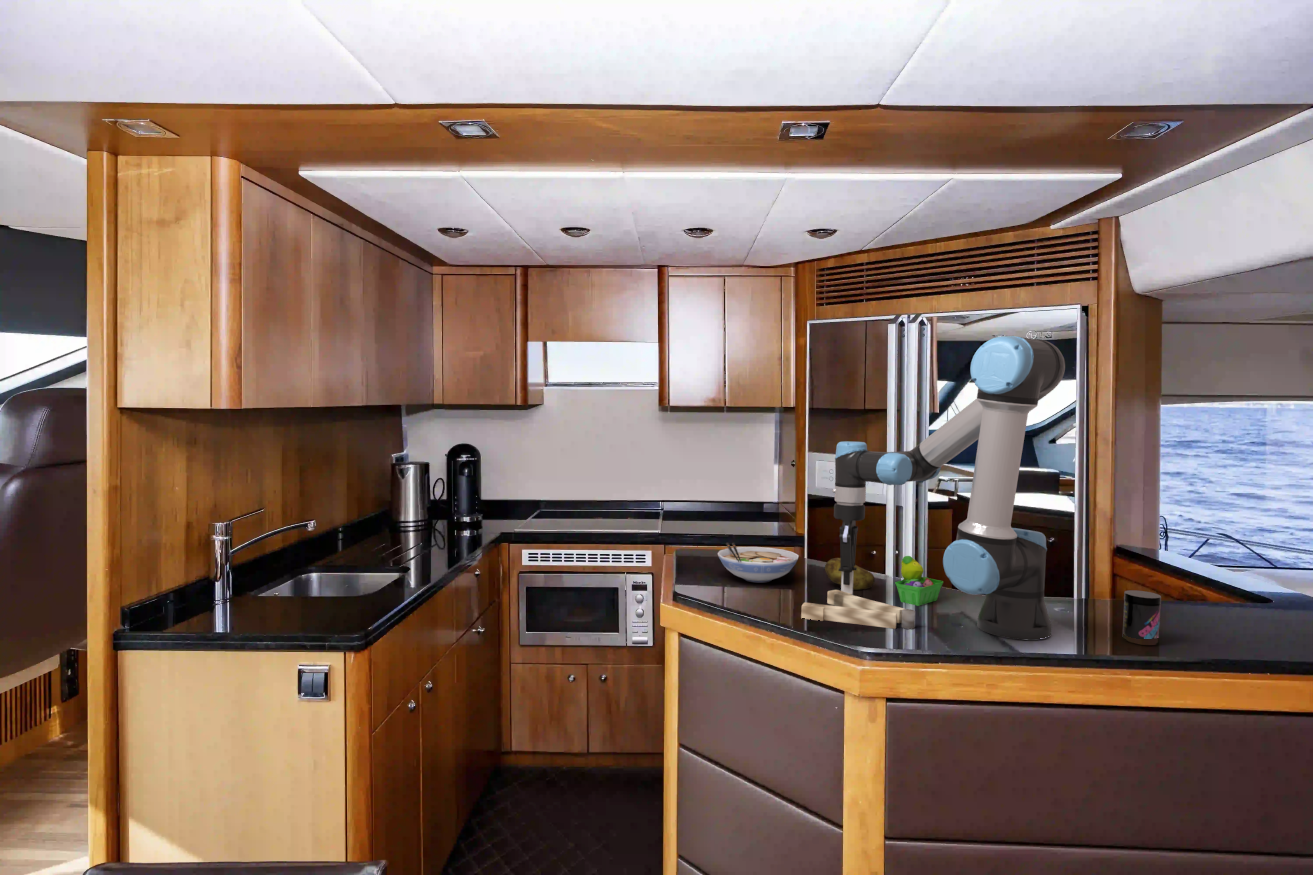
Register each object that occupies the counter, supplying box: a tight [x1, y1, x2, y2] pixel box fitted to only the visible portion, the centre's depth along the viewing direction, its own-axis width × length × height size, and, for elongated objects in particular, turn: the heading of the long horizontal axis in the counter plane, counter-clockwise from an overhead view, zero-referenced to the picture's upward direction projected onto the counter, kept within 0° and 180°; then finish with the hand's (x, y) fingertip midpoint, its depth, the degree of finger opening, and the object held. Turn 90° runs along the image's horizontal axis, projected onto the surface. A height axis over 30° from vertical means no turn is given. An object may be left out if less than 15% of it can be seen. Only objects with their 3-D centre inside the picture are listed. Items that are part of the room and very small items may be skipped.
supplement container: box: [1122, 589, 1162, 639], centre depth 169 cm, size 7×7×10 cm
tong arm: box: [826, 589, 905, 624], centre depth 188 cm, size 21×3×3 cm, turn 38°
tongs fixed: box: [800, 601, 916, 630], centre depth 180 cm, size 25×5×4 cm, turn 68°
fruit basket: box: [895, 555, 944, 607], centre depth 201 cm, size 11×9×11 cm
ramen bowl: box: [717, 542, 800, 584], centre depth 221 cm, size 25×23×8 cm
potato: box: [824, 557, 876, 591], centre depth 213 cm, size 8×13×8 cm, turn 64°
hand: (846, 596), depth 197 cm, fingers closed
